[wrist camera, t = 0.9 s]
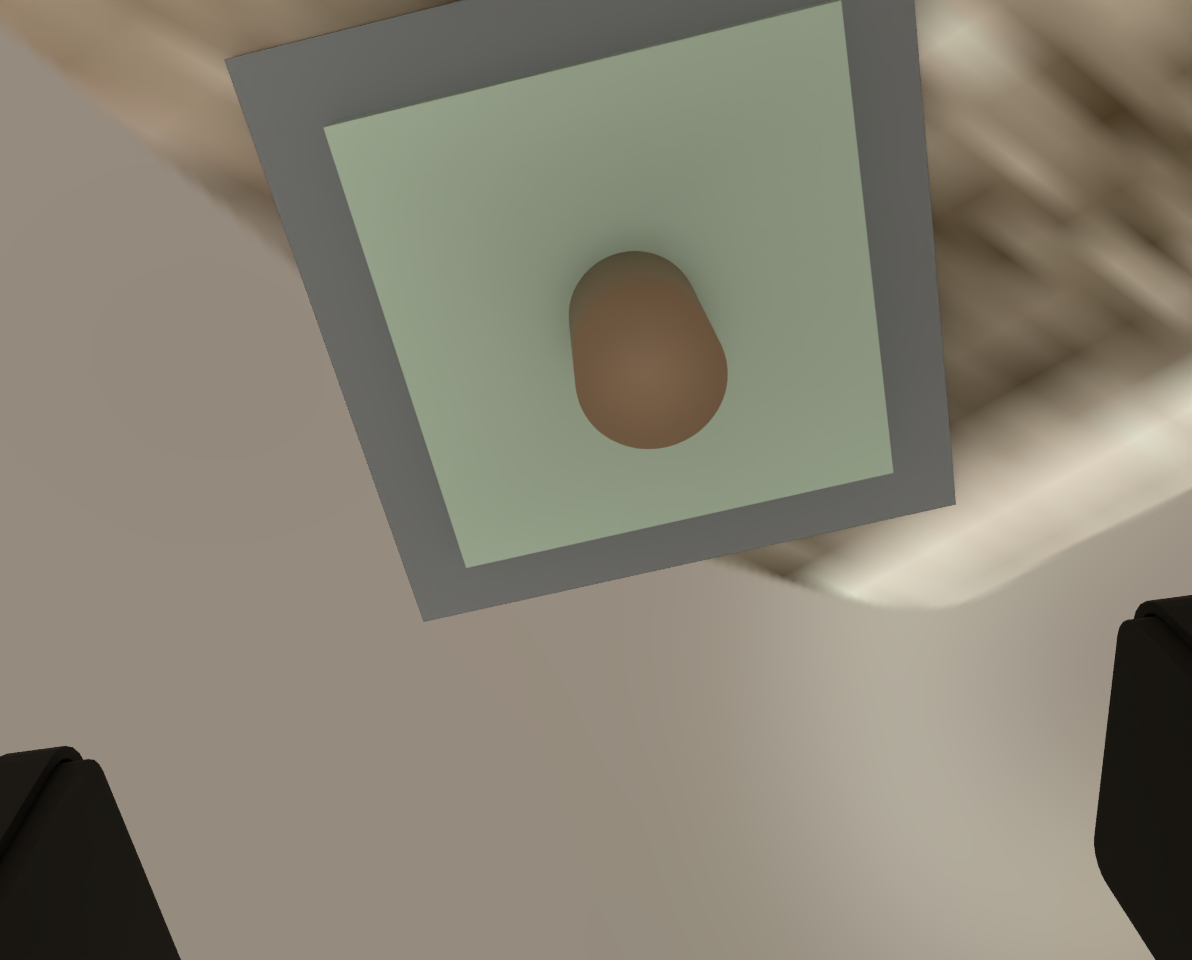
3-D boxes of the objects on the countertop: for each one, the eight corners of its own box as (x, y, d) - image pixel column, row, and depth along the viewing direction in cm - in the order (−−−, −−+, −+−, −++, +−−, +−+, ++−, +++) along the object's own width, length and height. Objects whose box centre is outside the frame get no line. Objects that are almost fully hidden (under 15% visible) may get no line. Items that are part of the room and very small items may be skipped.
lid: (832, -1, 26) (907, 6, 21) (885, 461, 32) (954, 557, 27) (328, 123, 27) (279, 160, 22) (467, 554, 33) (454, 666, 27)
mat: (897, -109, 26) (905, -111, 25) (948, 495, 33) (955, 504, 33) (230, 58, 27) (224, 60, 26) (425, 611, 34) (423, 621, 33)
